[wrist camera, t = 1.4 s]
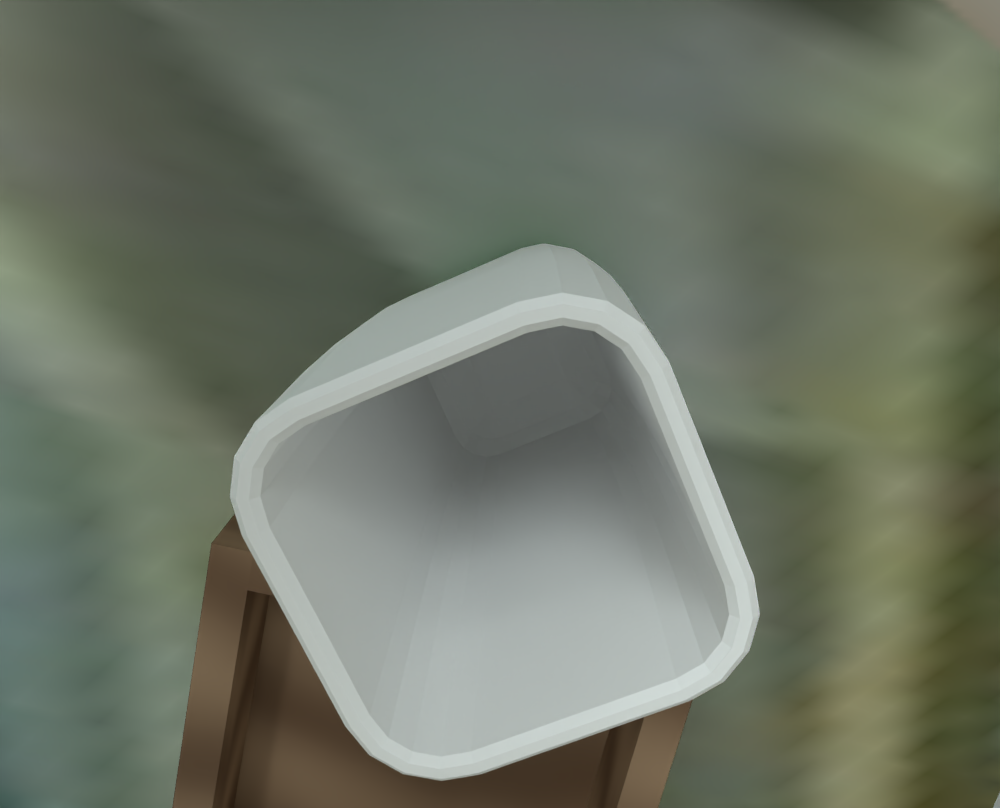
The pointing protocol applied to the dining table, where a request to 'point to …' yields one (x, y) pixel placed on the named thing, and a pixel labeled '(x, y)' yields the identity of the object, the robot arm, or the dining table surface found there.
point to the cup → (496, 521)
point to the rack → (333, 749)
